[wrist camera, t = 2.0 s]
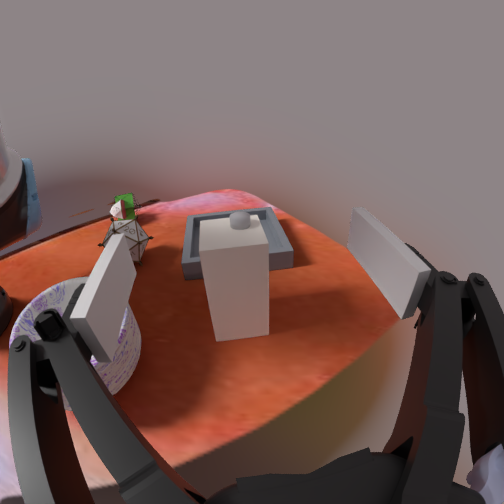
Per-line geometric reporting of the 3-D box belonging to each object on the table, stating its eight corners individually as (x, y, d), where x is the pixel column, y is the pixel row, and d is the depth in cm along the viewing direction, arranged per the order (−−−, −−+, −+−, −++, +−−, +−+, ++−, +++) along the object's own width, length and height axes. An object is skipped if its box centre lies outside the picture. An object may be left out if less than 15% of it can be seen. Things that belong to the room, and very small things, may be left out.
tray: (185, 280, 39) (181, 263, 38) (189, 229, 53) (187, 215, 51) (292, 267, 41) (293, 250, 39) (271, 220, 54) (270, 206, 53)
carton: (216, 341, 30) (197, 241, 23) (213, 305, 35) (198, 212, 28) (268, 334, 30) (268, 233, 23) (260, 300, 35) (256, 206, 28)
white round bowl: (150, 426, 20) (114, 386, 16) (33, 416, 18) (-10, 375, 14) (154, 317, 33) (137, 266, 29) (60, 325, 31) (35, 281, 27)
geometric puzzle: (116, 207, 60) (106, 189, 53) (142, 202, 62) (135, 183, 54) (116, 233, 58) (105, 217, 51) (144, 228, 59) (135, 211, 52)
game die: (145, 272, 47) (168, 224, 46) (126, 287, 39) (150, 231, 37) (108, 249, 47) (127, 201, 45) (83, 259, 38) (103, 203, 36)
